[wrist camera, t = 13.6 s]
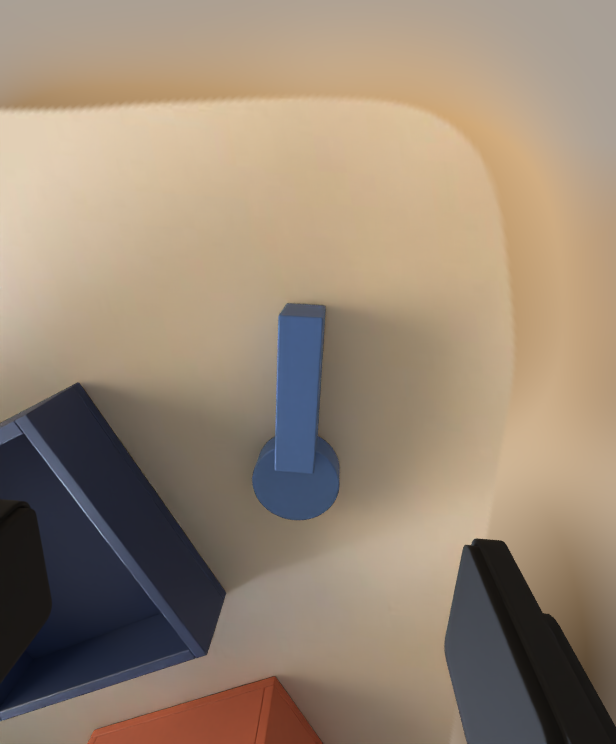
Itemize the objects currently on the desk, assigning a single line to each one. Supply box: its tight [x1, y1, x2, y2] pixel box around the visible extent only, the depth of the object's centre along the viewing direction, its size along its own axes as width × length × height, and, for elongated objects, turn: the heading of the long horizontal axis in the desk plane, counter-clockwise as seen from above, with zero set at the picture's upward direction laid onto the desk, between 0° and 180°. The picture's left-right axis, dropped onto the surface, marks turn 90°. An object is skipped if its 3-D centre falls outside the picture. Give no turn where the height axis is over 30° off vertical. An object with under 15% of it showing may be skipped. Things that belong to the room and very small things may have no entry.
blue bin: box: [0, 383, 226, 721], centre depth 21 cm, size 13×13×4 cm
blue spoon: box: [252, 303, 340, 520], centre depth 18 cm, size 10×4×2 cm, turn 177°
